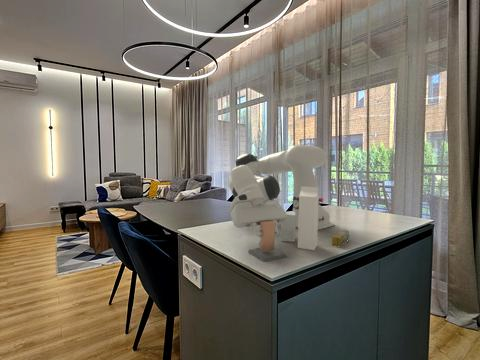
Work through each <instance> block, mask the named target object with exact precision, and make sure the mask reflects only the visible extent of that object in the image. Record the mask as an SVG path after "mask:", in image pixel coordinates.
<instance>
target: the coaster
mask: <svg viewBox="0 0 480 360" xmlns="http://www.w3.org/2000/svg"><path fill="white" fill-rule="evenodd" d="M247 252H248V254H250V255H252V256H254V258H257V259H258V260H260V261H262V262H267V261H273V260H276V259H277V260H278V259H283V258H286V257H287V253H286V252H284V251H281V250H280V249H278V248H275V247H274V250H272V251H263V250H261V249H260V247H257V248H256V247H255V248H251V249H248V251H247Z"/></svg>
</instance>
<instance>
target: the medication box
mask: <svg viewBox="0 0 480 360" xmlns="http://www.w3.org/2000/svg"><path fill="white" fill-rule="evenodd" d="M349 233H350V231H349V230H346V229H345V230H340V231H339V232H337V233H335V234H334V235H333V236H332V238H331V239H332V241H331V243H332V247H334V246H341V245H342V244H343V243H345V242H346V241H347V240H348V239H349V240H350V234H349ZM347 242H348V241H347ZM347 242H346V243H347ZM346 243H345V244H346ZM343 245H344V244H343ZM343 245H342V246H343ZM342 246H341V247H342Z"/></svg>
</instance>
